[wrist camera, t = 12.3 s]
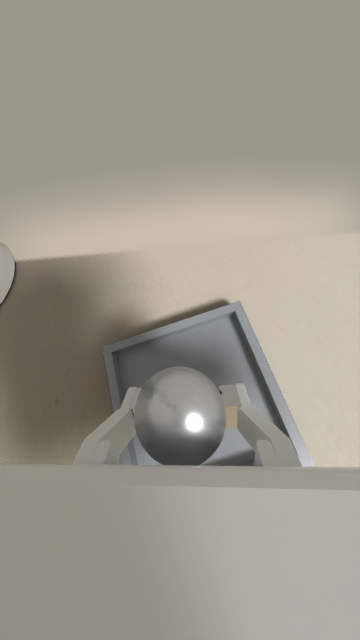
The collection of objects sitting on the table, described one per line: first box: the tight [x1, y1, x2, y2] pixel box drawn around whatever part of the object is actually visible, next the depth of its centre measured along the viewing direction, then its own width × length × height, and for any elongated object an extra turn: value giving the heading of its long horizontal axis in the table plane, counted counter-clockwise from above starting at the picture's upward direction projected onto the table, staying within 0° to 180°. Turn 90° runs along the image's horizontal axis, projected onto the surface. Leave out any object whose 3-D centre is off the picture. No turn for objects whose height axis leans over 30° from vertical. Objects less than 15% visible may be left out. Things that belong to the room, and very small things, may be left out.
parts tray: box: [102, 301, 314, 467], centre depth 17 cm, size 14×14×2 cm
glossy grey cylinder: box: [134, 366, 226, 465], centre depth 12 cm, size 4×4×8 cm
